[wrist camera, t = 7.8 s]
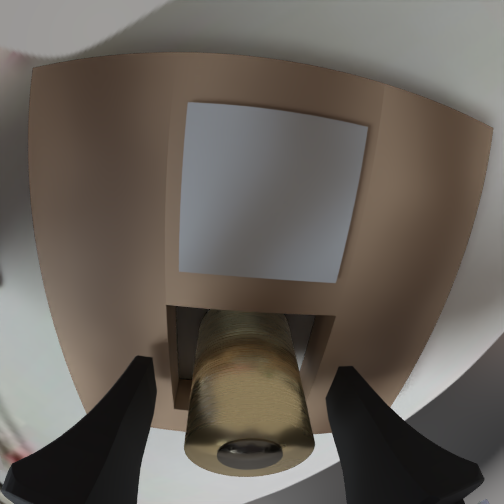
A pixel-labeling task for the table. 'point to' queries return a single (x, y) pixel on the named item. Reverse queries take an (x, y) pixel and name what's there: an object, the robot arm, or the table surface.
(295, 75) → the jig plate
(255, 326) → the brass bushing
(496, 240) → the table surface
